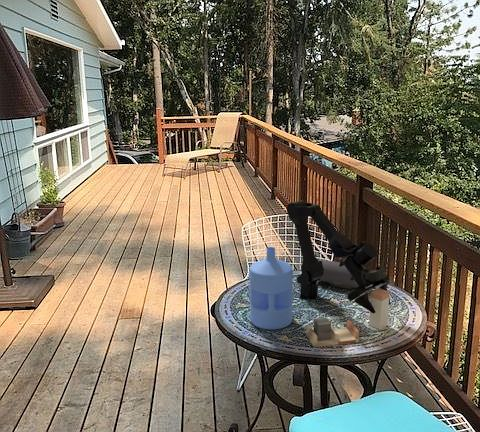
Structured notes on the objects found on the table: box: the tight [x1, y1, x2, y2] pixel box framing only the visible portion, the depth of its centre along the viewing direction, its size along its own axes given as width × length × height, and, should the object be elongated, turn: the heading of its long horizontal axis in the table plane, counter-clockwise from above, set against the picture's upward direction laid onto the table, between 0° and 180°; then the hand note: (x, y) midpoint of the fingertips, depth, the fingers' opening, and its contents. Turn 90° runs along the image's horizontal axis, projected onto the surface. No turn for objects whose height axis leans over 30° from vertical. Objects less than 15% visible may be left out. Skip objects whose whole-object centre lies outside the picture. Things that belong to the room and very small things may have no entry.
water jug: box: [248, 246, 294, 331], centre depth 177 cm, size 16×16×28 cm
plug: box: [368, 288, 391, 331], centre depth 173 cm, size 4×4×13 cm
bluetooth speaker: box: [318, 259, 372, 290], centre depth 207 cm, size 23×9×10 cm, turn 58°
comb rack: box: [306, 316, 360, 348], centre depth 166 cm, size 8×16×7 cm, turn 101°
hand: (382, 308), depth 172 cm, fingers open, 9 cm apart
